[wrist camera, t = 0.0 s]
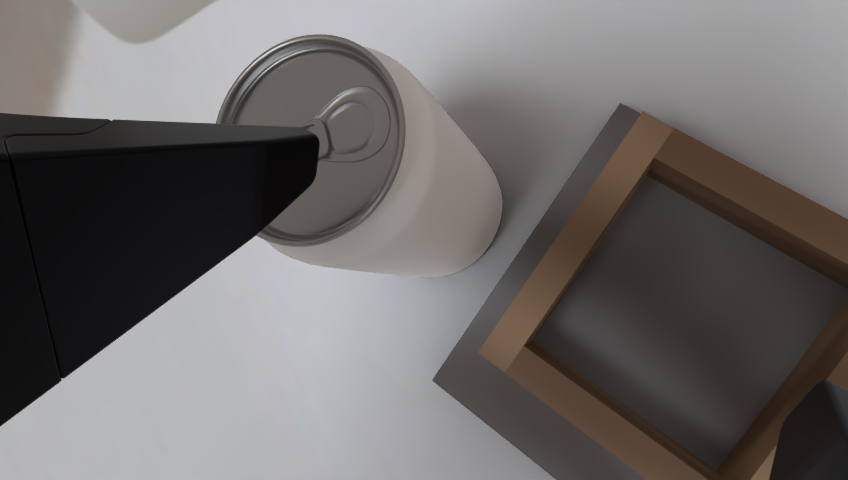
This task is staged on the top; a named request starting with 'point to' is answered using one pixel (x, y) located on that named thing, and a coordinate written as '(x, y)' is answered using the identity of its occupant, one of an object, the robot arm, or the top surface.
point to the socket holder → (659, 316)
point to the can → (370, 162)
